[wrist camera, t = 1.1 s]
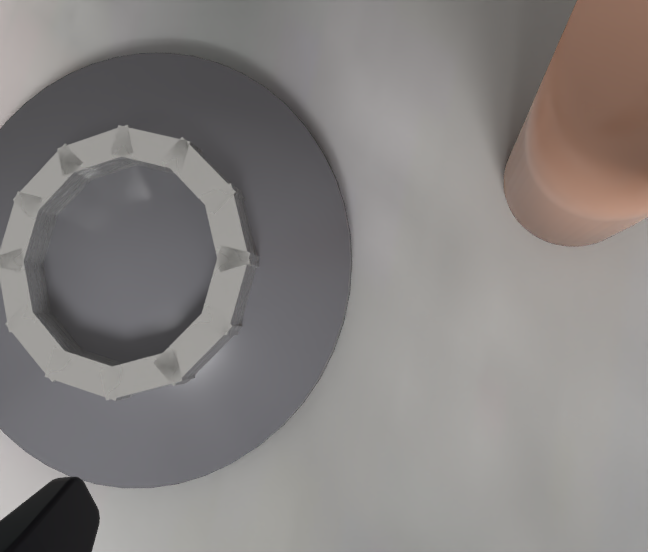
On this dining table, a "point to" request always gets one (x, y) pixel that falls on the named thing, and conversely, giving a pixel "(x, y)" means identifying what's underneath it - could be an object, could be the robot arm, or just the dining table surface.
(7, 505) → the dining table surface
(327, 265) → the charcoal plate
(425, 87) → the dining table surface
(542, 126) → the terracotta peg
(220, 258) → the metal collar
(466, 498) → the dining table surface
